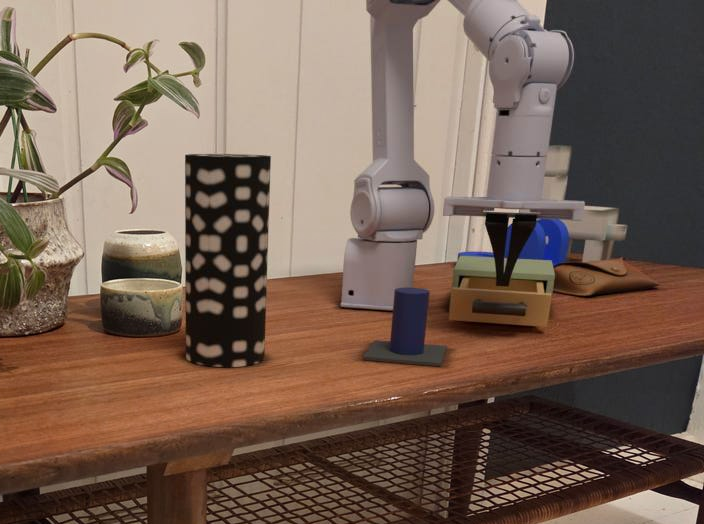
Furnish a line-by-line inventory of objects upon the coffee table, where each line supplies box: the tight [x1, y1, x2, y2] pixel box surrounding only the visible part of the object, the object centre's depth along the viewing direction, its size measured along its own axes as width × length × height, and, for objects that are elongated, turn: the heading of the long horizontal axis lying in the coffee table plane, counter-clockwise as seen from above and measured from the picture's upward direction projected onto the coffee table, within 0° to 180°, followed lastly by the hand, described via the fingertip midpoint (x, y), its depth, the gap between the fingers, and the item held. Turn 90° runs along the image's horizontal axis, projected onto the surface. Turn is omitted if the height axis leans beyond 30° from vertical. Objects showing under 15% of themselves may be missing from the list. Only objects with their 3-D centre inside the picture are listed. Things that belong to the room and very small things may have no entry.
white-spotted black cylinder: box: [184, 153, 272, 368], centre depth 89 cm, size 8×8×20 cm
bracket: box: [456, 219, 569, 266], centre depth 150 cm, size 18×8×9 cm, turn 36°
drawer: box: [448, 276, 552, 328], centre depth 109 cm, size 17×11×4 cm
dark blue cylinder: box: [389, 287, 430, 355], centre depth 94 cm, size 4×4×6 cm
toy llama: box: [519, 145, 628, 262], centre depth 156 cm, size 8×18×20 cm, turn 49°
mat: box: [362, 339, 448, 368], centre depth 95 cm, size 8×8×1 cm
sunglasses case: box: [553, 256, 661, 297], centre depth 135 cm, size 18×7×7 cm
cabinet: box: [448, 256, 555, 319], centre depth 121 cm, size 14×13×6 cm
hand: (502, 284), depth 99 cm, fingers closed
